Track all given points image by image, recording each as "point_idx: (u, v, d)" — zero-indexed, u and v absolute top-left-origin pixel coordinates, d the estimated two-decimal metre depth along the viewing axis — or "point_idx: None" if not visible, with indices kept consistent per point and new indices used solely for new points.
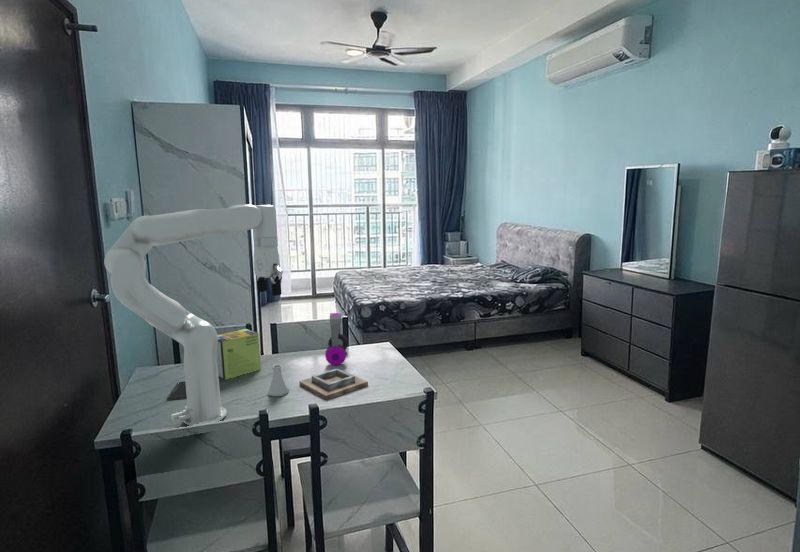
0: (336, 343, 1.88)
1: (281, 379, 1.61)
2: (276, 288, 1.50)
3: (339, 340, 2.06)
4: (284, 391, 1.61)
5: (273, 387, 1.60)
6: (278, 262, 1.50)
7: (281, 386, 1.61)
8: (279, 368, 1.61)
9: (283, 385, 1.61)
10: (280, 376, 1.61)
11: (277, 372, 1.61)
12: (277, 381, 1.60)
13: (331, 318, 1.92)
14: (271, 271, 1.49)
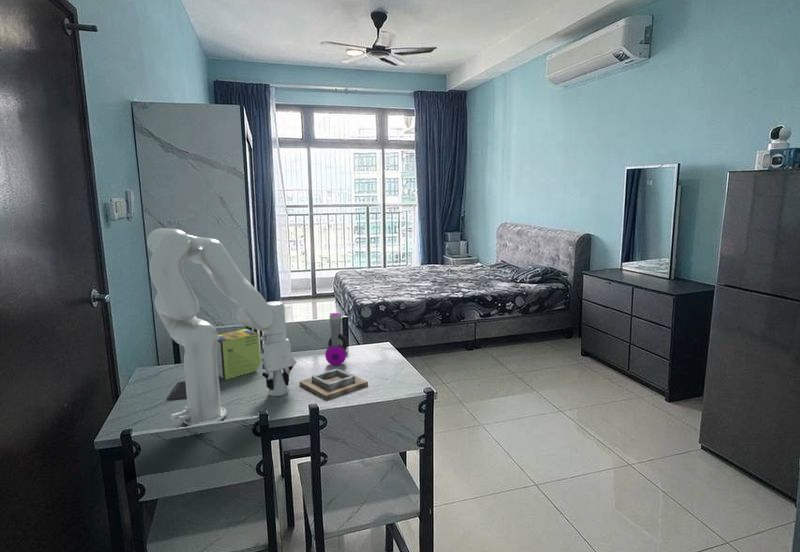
0: (336, 343, 1.88)
1: (281, 379, 1.61)
2: None
3: (339, 340, 2.06)
4: (284, 391, 1.61)
5: (273, 387, 1.60)
6: None
7: (281, 386, 1.61)
8: None
9: (283, 385, 1.61)
10: (280, 376, 1.61)
11: (277, 372, 1.61)
12: (277, 381, 1.60)
13: (331, 318, 1.92)
14: None
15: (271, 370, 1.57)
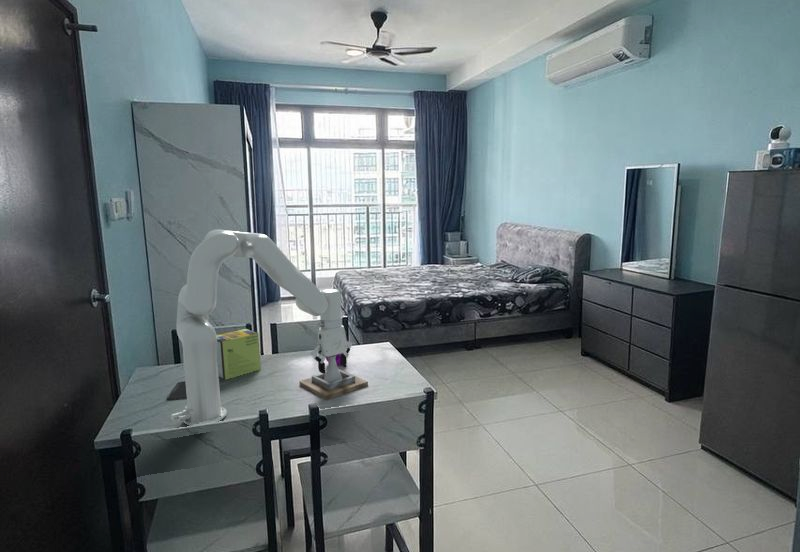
0: None
1: (336, 368, 1.67)
2: None
3: None
4: (339, 379, 1.67)
5: (328, 376, 1.66)
6: None
7: (336, 375, 1.66)
8: (334, 357, 1.66)
9: (338, 374, 1.67)
10: (335, 365, 1.67)
11: (333, 361, 1.66)
12: (332, 370, 1.66)
13: None
14: None
15: (328, 355, 1.63)
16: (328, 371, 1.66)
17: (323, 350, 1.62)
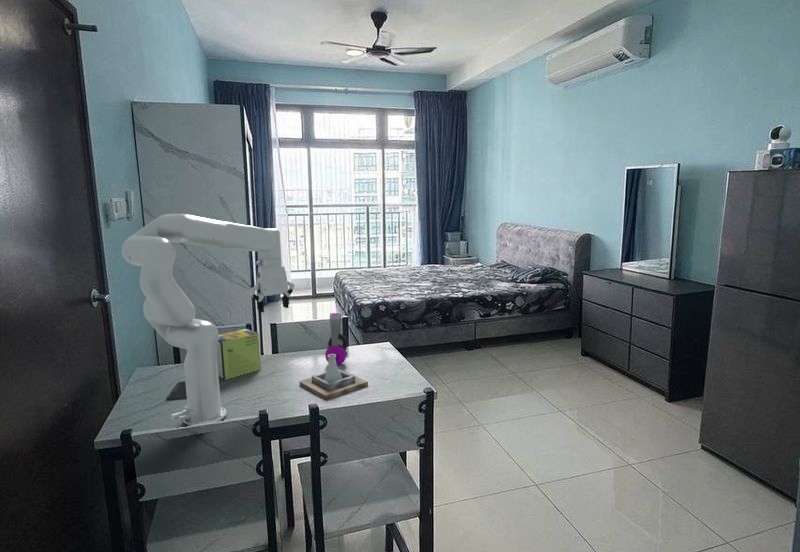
0: (336, 343, 1.88)
1: (336, 368, 1.67)
2: None
3: (339, 340, 2.06)
4: (339, 379, 1.67)
5: (328, 376, 1.66)
6: None
7: (336, 375, 1.66)
8: (334, 357, 1.66)
9: (338, 374, 1.67)
10: (335, 365, 1.67)
11: (333, 361, 1.66)
12: (332, 370, 1.66)
13: (331, 318, 1.92)
14: None
15: (267, 294, 1.62)
16: (328, 371, 1.66)
17: (261, 288, 1.61)
